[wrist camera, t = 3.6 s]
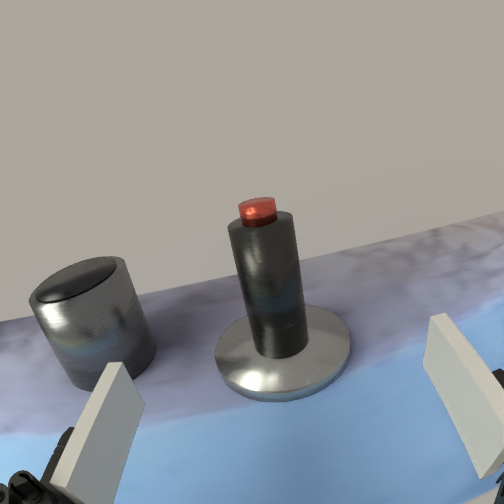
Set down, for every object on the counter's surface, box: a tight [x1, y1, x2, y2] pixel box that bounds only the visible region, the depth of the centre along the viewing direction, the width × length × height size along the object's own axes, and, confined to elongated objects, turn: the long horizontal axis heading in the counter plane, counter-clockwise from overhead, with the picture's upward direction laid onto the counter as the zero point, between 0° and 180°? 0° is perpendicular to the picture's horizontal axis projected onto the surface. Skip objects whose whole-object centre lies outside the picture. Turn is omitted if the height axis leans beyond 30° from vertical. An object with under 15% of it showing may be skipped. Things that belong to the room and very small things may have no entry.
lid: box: [215, 197, 350, 402], centre depth 21 cm, size 10×10×12 cm
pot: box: [29, 256, 156, 391], centre depth 24 cm, size 9×9×8 cm
